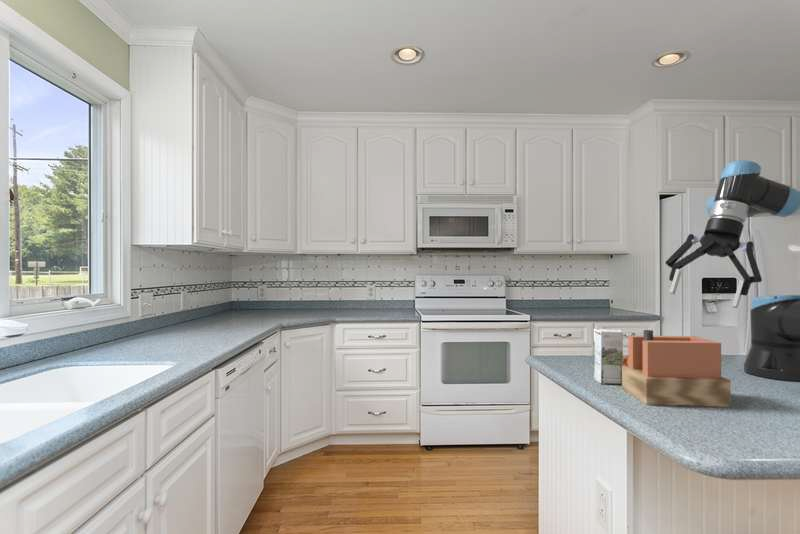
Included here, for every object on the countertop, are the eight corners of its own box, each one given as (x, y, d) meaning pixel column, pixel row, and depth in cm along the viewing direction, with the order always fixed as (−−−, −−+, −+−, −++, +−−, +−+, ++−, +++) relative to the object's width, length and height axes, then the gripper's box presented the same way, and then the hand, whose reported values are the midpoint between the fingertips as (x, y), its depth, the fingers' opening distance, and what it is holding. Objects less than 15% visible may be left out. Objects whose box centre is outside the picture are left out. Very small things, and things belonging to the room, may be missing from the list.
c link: (694, 368, 107) (694, 336, 107) (721, 378, 97) (721, 343, 97) (628, 366, 108) (628, 335, 108) (647, 376, 98) (647, 342, 98)
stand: (695, 390, 108) (695, 327, 108) (730, 406, 95) (730, 335, 95) (621, 388, 110) (621, 326, 110) (646, 404, 97) (646, 334, 97)
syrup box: (614, 379, 119) (614, 327, 119) (623, 385, 113) (623, 330, 113) (593, 378, 120) (593, 327, 120) (601, 384, 114) (600, 330, 114)
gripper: (668, 211, 115) (645, 285, 115) (789, 222, 98) (763, 310, 97) (674, 219, 121) (652, 291, 120) (791, 232, 103) (765, 315, 102)
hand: (701, 300), depth 109 cm, fingers open, 13 cm apart
